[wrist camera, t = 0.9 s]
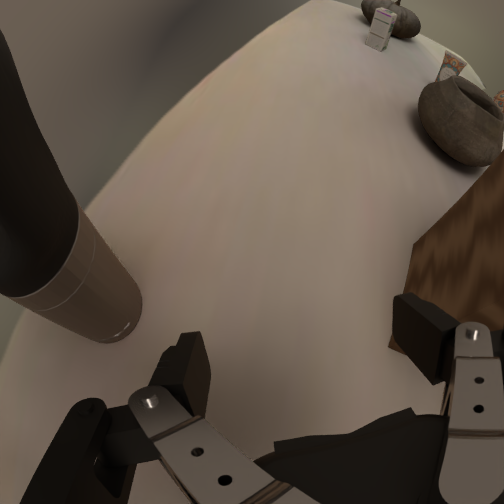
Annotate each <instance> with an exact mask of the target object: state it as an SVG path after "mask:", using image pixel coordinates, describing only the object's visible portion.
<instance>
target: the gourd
mask: <svg viewBox="0 0 504 504" xmlns="http://www.w3.org/2000/svg"><path fill="white" fill-rule="evenodd" d="M400 1H401V0H398V1H397V2H395V3H394V2H392V1H391V0H363V1H362V3H361V7H362V12H363V14H364V16H365V17H366V19H367V20H368V21H369V22H370V23H371V24H372V21H373V17H374V14H375V11H376V8H381V7H382V8H385V9H388V10H390V11H392V12H394V13H396V14H397V18H396V21H395V24H394V27H393V30H392V33H391V34H392V35H394V36H397V37H399V38H412V37H415V36H416V35H417V34H418V33H419V32H420V28H421V25H420V21H419V19H418V17H417V16H416V15H415V14H414V13H413V12H412V11H410V10H408V9H406V8H404V7H402V6H400Z"/></svg>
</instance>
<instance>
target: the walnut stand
mask: <svg viewBox="0 0 504 504" xmlns="http://www.w3.org/2000/svg"><path fill="white" fill-rule="evenodd" d="M408 292H412V293H414V294H415V295H417V296H418V297H419V298H421V299H422V300H425V301H428V302H431V303H434V304H435V305H437V306H438V307H439V308H440V309H442V310H444V311H445V312H446V313H448V314H449V315H451V316H452V317H453V318H455V319H456V320H458V321H459V322H460V323H465V322H478V323H481V324H484V325H485V326H487V327H488V328H489V330H490V331H496V330H501V329H503V326H504V150H503V151H502V152H501V153H500V154H499V156H498V157H497V158H496V159H495V160H494V161H493V163H492V164H491V165H490V166H489V167H488V168H487V170H486V171H485V172H484V173H483V174H482V175H481V176H480V177H479V179H478V180H477V181H476V182H475V183H474V184H473V185H472V186H471V187H470V188H469V190H468V191H467V192H466V193H465V194H464V195H463V196H462V197H461V198H460V199H459V200H458V201H457V202H456V203H455V204H454V205H453V206H452V207H451V208H450V209H449V210H448V211H447V212H446V213H445V215H444V216H443V217H442V218H440V219H439V220H438V221H437V222H436V223H435V224H434V225H433V226H432V227H431V228H430V229H429V230H428V231H427V232H426V233H425V234H424V235H423V236H422V237H421V238H420V239H419V240H418V241H417V242H416V243H415V244H414V245H413V250H412V256H411V261H410V265H409V270H408V275H407V279H406V284H405V288H404V292H403V294H404V293H408ZM388 347H389V348H391V349H393V350H396V351H398V352H400V353H402V354H405V352H404V351H403V350H402V349H401V348H400V347H399V346H398V345H397V343H396V342H395V340H394V337H393V333H392V336H391V339H390V342H389V346H388ZM405 355H406V354H405Z"/></svg>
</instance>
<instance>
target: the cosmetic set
mask: <svg viewBox="0 0 504 504" xmlns="http://www.w3.org/2000/svg"><path fill="white" fill-rule="evenodd" d="M466 65H467V63H466V62H464V61H463V60H461V59H460V58H458V57H457V56H455V55H453V54H452V53H450V52H448V51H447V50H446V51H445V57H444V60H443V63H442V66H441V68H440V71H439V73H438V76H437V78H436V80H435V82H439V81H442V80H445V79H448V78H449V77H451V76H452V75H457V76H458V75H459V73H460V72H461V71H462V69H463V68H464V67H465V66H466ZM493 101H494V102H495V103H496V104H497V106H498V107H499V108H500V110H501V111H502V112H503V113H504V90H503V91H500V92H499V93H497V94H496V96H495V97H494V99H493Z"/></svg>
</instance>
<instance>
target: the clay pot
mask: <svg viewBox="0 0 504 504" xmlns="http://www.w3.org/2000/svg"><path fill="white" fill-rule="evenodd" d="M418 111H419V116H420V119H421V122H422V124H423V126H424V128H425V130H426V131H427V133H428V134H429V136H430V137H431V138H432V139H433V140H434V141H435V143H436V144H437V145H438V146H439V147H440V148H441V149H442V150H443V151H444V152H446V153H447V154H448V155H449V156H451V157H452V158H454V159H455V160H457V161H459V162H461V163H463V164H465V165H468V166H473V167H477V166H479V167H484V166H488V165H491V164H492V163H493V161H494V160H495V159H496V158H497V157H498V156H499V154H500V153H501V150H502V142H503V131H504V113H503V112H502V111H501V110H500V108H499V107H498V106H497V104H496V103H495V102H494V101H493V100H492V99H491V98H490V97H489V96H488V95H487V94H486V93H485V92H484V91H482V90H481V89H480V88H479V87H477V86H476V85H474V84H473V83H471V82H470V81H468V80H466V79H465V78H463V77H461V76H457V75H452V76H451V77H449V78H448V79H445V80H442V81H439V82H433V83H430V84H428V85H427V86H426V87H424V89H423V90H422V92H421V95H420V97H419V102H418Z"/></svg>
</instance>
